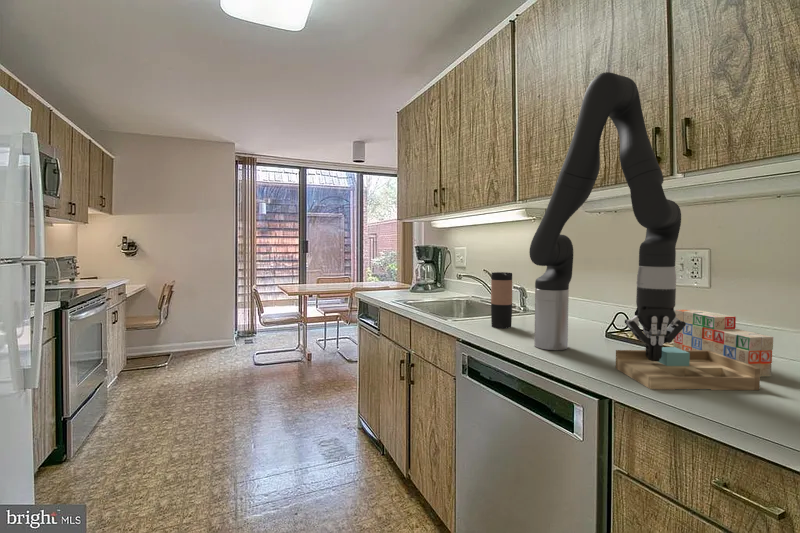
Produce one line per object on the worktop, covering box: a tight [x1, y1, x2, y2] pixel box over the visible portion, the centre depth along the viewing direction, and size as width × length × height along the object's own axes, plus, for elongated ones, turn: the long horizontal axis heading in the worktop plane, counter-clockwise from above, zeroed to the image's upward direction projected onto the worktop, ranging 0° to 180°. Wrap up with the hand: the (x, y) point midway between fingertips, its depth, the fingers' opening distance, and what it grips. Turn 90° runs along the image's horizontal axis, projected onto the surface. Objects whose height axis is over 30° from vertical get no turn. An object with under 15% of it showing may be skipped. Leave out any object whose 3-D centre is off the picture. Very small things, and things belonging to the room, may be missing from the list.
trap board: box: [615, 349, 761, 391], centre depth 87 cm, size 14×22×4 cm, turn 88°
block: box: [657, 346, 690, 366], centre depth 91 cm, size 5×5×3 cm
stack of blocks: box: [673, 308, 774, 378], centre depth 98 cm, size 21×6×12 cm, turn 5°
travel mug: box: [490, 271, 513, 329], centre depth 144 cm, size 8×8×20 cm
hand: (653, 360), depth 90 cm, fingers closed
